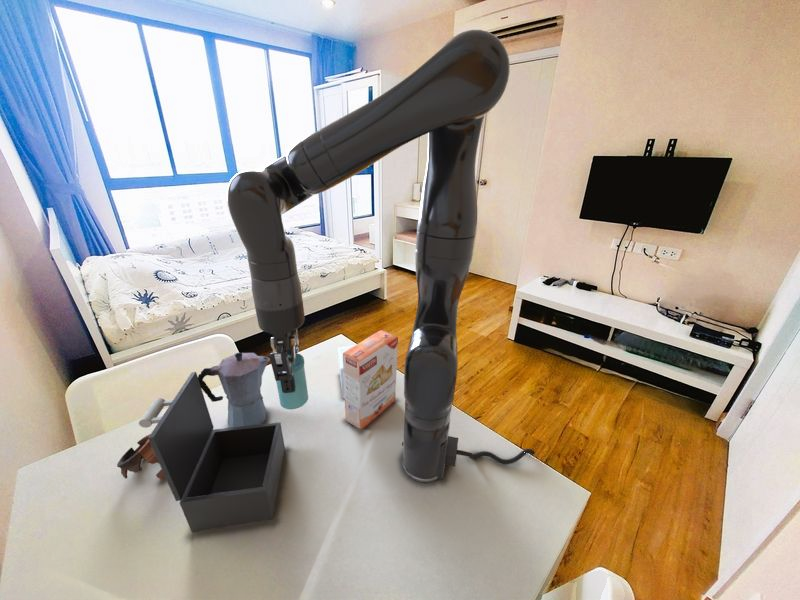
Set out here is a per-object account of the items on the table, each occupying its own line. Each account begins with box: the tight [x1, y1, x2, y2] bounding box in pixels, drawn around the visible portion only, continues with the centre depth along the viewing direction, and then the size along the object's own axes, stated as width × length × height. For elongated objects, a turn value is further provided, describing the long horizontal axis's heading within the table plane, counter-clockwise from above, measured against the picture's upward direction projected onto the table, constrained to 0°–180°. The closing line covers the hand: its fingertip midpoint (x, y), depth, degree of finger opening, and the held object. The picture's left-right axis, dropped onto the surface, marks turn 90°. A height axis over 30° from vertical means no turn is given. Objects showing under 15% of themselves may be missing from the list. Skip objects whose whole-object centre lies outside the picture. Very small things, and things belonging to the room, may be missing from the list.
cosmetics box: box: [337, 344, 356, 399], centre depth 92 cm, size 10×6×10 cm, turn 14°
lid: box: [138, 371, 215, 502], centre depth 56 cm, size 14×16×5 cm
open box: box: [179, 421, 286, 533], centre depth 63 cm, size 14×16×9 cm
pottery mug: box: [116, 433, 166, 480], centre depth 68 cm, size 12×10×8 cm
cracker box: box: [343, 329, 399, 430], centre depth 80 cm, size 14×6×21 cm, turn 143°
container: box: [275, 353, 309, 410], centre depth 60 cm, size 6×6×9 cm
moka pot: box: [197, 352, 271, 428], centre depth 76 cm, size 10×15×20 cm, turn 124°
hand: (291, 380), depth 60 cm, fingers closed on container, 5 cm apart
